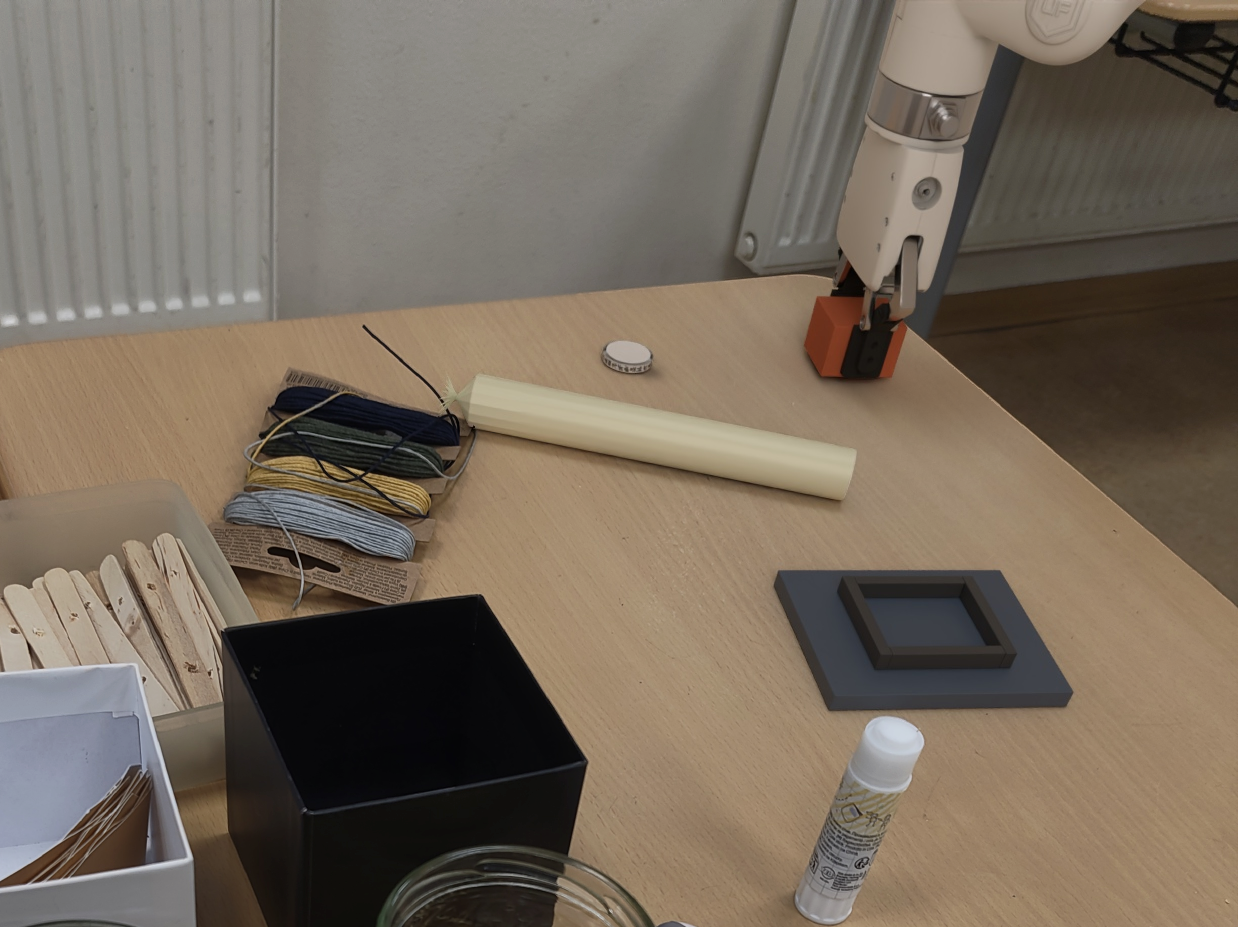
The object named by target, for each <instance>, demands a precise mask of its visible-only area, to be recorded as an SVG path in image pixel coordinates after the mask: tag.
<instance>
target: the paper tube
mask: <svg viewBox="0 0 1238 927" xmlns="http://www.w3.org/2000/svg"><path fill="white" fill-rule="evenodd" d="M445 375H446V377H444V378H445V381H446V384H447V385H446V384H445V383H444V382H442V384H443V385H444V387H445V389H446V390H441V389H440V390H439V392H440V391H441V392H443V393H444V394H445V395H447V396H442V397H441V398H440V400H444V402H442V403H441V404H440V405H439V406H438V408H440V407H441V406H442V407H441V409H440V410H439V412H440V414H439V415H441V414H442V415H443V414H444V412H445V411H446V410H448V408H449V407H450V406H451V405H452V404H453V403H454V402H455V401H456V402H457V404H458V405H459V408H460V410H461V412H462V415H463V417H464V419H465V422H466V424H467V423H471V424H473V425H474V426H475V427H476V428H474V429H476V430H479V431H480V430H481V431H486V432H490V433H491V432H492V433H496V434H501V435H505V436H512V437H517V438H522V439H527V440H531V441H537V442H542V443H548V444H553V445H557V446H563V447H567V448H573V449H576V450H577V449H578V450H581V451H582V450H583V451H587V452H593V453H599V454H603V455H608V456H612V457H618V458H623V459H629V460H633V461H638V462H643V463H649V464H654V465H659V466H664V467H668V468H674V469H679V470H684V471H689V472H694V473H699V474H705V475H709V476H714V477H720V478H725V479H730V480H735V481H740V482H745V483H748V484H749V483H750V484H753V485H759V486H765V487H769V488H775V489H780V490H785V491H790V492H795V493H801V494H804V495H805V494H806V495H809V496H816V497H820V498H826V499H831V500H836V501H840V502H841V501H844V499H845V498H846V496H847V494H848V490H849V487H850V484H851V481H852V478H853V474H854V469H855V466H856V465H855V464H856V461H857V456H858V455H857V454H858V450H857V448H856V447H855V448H854V447H850V446H844V445H840V444H834V443H830V442H825V441H820V440H815V439H809V438H804V437H799V436H794V435H789V434H786V433H785V434H784V433H779V432H774V431H769V430H764V429H760V428H754V427H751V426H745V425H740V424H735V423H729V422H726V421H725V422H724V421H719V420H714V419H710V418H703V417H699V416H694V415H689V414H684V413H679V412H675V411H669V410H665V409H659V408H654V407H649V406H644V405H640V404H634V403H630V402H624V401H620V400H614V399H610V398H605V397H599V396H594V395H591V394H584V393H580V392H574V391H570V390H564V389H559V388H555V387H549V386H545V385H540V384H536V383H535V384H534V383H530V382H524V381H521V380H514V379H510V378H505V377H499V376H496V375H491V374H486V373H482V372H478V373H477V374H476V375H474V377H473V378H472V379H471V380H470V381H469V382H468V383H467V384H466V385H465V386H464V387H463V388H462V389H461V391H459V392H458V393H457V392H456V390H455V388H454V385H453V383H452V381H451V378H450V376H449V374H448V371H447V370H445ZM442 415H441V416H442Z"/></svg>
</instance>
